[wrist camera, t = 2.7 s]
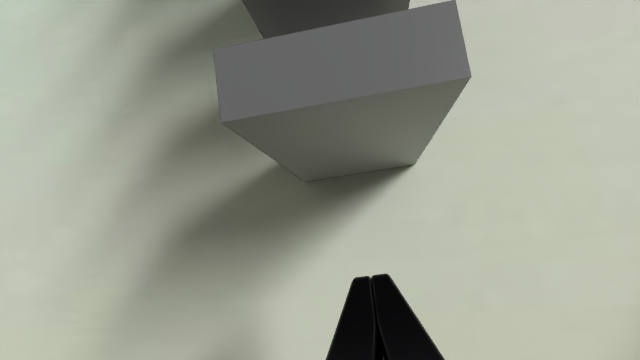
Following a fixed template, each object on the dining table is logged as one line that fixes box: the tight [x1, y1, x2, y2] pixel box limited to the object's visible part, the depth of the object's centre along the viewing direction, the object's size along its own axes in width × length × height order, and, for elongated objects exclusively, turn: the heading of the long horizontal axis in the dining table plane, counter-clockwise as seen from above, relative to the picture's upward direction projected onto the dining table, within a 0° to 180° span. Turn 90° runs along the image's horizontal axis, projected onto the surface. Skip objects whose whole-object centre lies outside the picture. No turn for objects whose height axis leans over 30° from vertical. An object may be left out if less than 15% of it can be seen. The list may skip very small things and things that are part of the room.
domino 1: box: [242, 0, 410, 39], centre depth 13 cm, size 2×5×10 cm, turn 98°
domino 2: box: [213, 0, 471, 182], centre depth 13 cm, size 2×5×10 cm, turn 98°
